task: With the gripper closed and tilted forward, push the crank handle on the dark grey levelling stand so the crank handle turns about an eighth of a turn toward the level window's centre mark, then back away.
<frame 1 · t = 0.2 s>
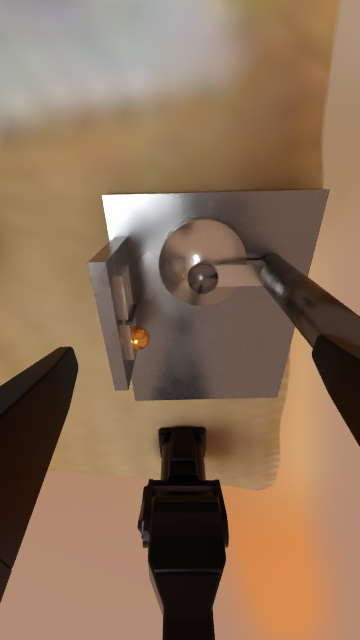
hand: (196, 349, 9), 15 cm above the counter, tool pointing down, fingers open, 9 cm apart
crank handle: (239, 290, 15), point 8 cm above the counter, hinge at 0.0°
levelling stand: (224, 352, 27), on the counter
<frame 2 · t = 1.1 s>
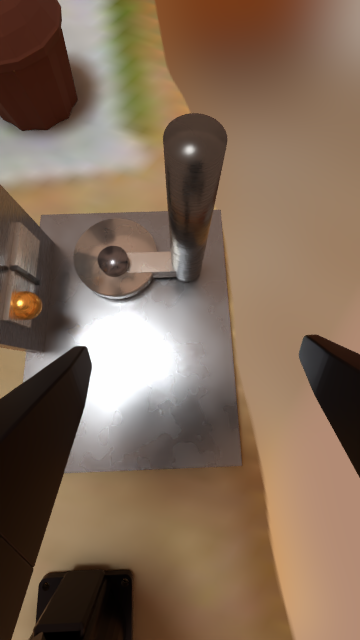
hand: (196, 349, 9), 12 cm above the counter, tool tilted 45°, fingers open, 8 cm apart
muffin: (39, 102, 28), on the counter
crank handle: (125, 217, 16), point 7 cm above the counter, hinge at 0.0°
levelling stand: (155, 385, 21), on the counter
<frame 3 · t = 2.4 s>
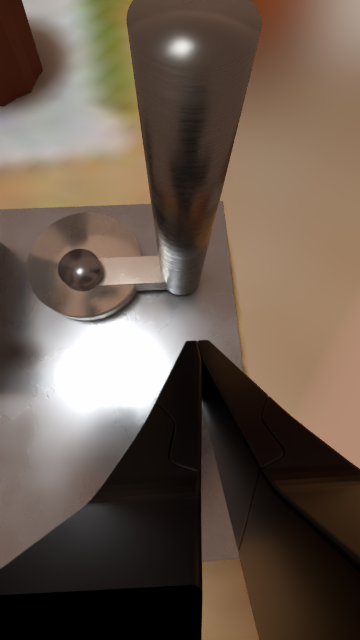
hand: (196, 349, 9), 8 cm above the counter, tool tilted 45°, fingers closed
crank handle: (88, 206, 11), point 8 cm above the counter, hinge at 0.0°
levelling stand: (142, 436, 15), on the counter
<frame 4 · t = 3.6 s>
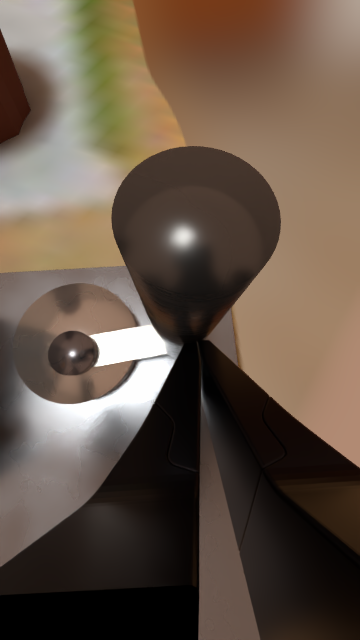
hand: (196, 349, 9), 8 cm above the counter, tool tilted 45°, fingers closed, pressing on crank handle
crank handle: (75, 312, 10), point 7 cm above the counter, hinge at 6.5°, touching gripper
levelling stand: (142, 525, 14), on the counter
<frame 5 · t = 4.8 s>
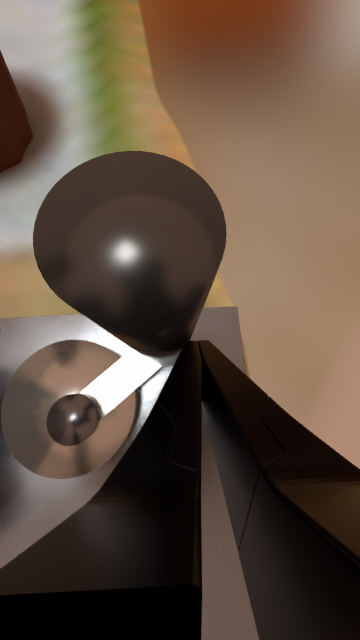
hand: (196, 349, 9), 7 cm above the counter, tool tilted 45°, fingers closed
crank handle: (55, 381, 9), point 7 cm above the counter, hinge at 37.9°, touching gripper
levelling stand: (145, 601, 13), on the counter
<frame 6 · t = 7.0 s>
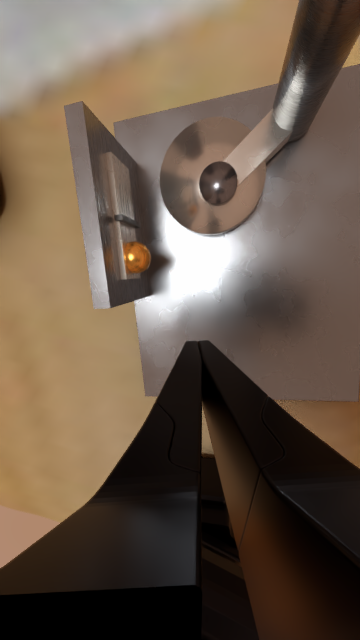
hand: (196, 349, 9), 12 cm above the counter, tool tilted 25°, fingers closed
crank handle: (233, 104, 11), point 8 cm above the counter, hinge at 37.9°
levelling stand: (264, 323, 20), on the counter
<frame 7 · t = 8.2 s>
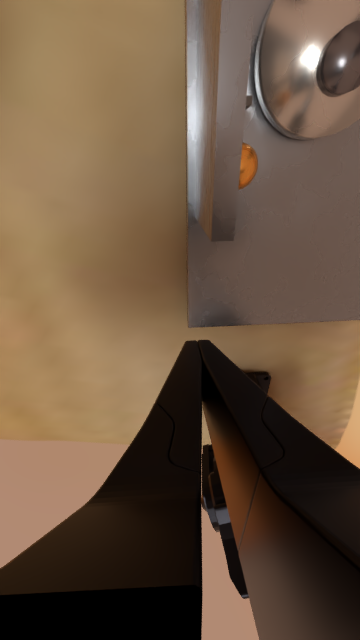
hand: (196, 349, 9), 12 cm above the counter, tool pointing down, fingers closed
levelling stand: (317, 250, 20), on the counter
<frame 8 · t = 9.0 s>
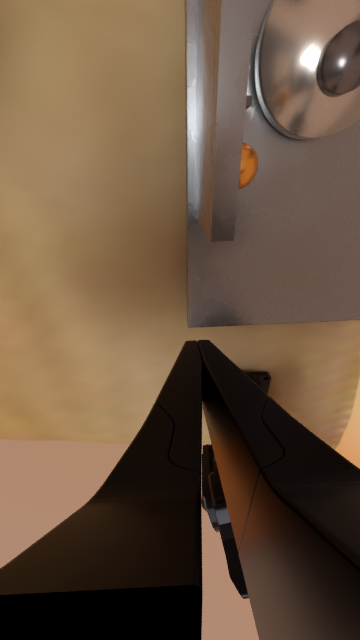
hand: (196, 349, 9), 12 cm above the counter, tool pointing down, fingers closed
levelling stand: (317, 250, 20), on the counter
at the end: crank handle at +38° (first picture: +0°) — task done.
